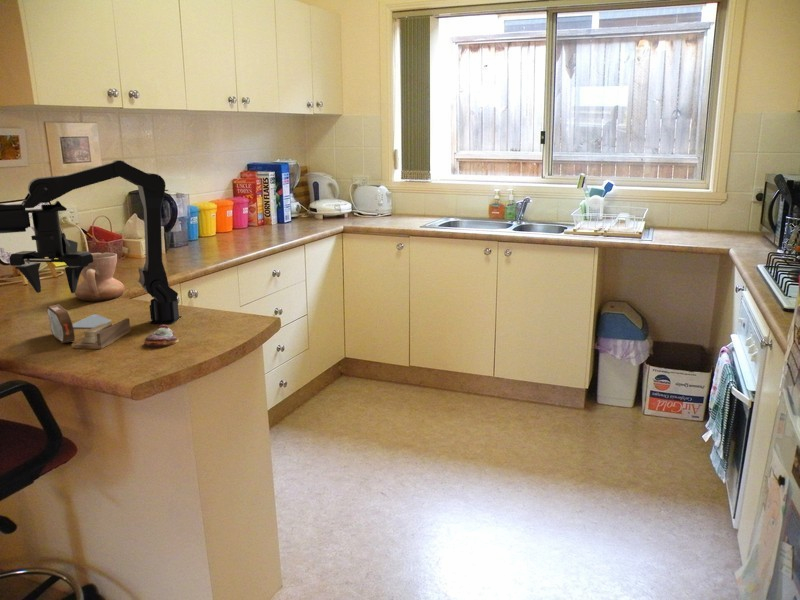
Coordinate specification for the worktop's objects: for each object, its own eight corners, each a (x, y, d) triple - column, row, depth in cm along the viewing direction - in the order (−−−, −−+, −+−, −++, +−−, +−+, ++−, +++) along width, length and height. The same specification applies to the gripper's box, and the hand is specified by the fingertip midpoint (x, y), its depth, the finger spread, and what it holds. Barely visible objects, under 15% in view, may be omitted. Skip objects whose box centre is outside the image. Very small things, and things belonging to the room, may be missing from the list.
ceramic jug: (85, 294, 216) (80, 251, 212) (131, 292, 218) (126, 250, 214) (66, 307, 198) (60, 261, 195) (116, 305, 200) (111, 259, 197)
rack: (130, 332, 171) (129, 318, 171) (101, 348, 158) (99, 333, 157) (105, 331, 172) (103, 317, 171) (74, 348, 159) (72, 333, 158)
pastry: (183, 340, 164) (181, 321, 163) (172, 350, 157) (170, 330, 156) (151, 340, 165) (149, 321, 163) (139, 350, 157) (136, 330, 156)
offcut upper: (112, 327, 168) (111, 323, 168) (94, 336, 161) (94, 332, 160) (102, 327, 169) (102, 323, 168) (84, 336, 161) (84, 332, 161)
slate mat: (133, 311, 193) (133, 309, 193) (98, 328, 175) (97, 327, 175) (104, 310, 194) (104, 309, 194) (66, 328, 176) (66, 326, 176)
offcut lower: (115, 331, 170) (114, 326, 169) (93, 342, 160) (93, 338, 160) (104, 331, 170) (103, 326, 170) (82, 342, 160) (81, 337, 160)
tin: (77, 344, 162) (72, 311, 160) (63, 347, 160) (58, 314, 158) (61, 332, 173) (57, 300, 171) (48, 334, 171) (44, 302, 169)
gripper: (101, 226, 167) (108, 286, 170) (33, 226, 169) (41, 285, 172) (75, 232, 156) (84, 296, 160) (3, 231, 158) (12, 294, 162)
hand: (56, 292), depth 164 cm, fingers open, 9 cm apart
